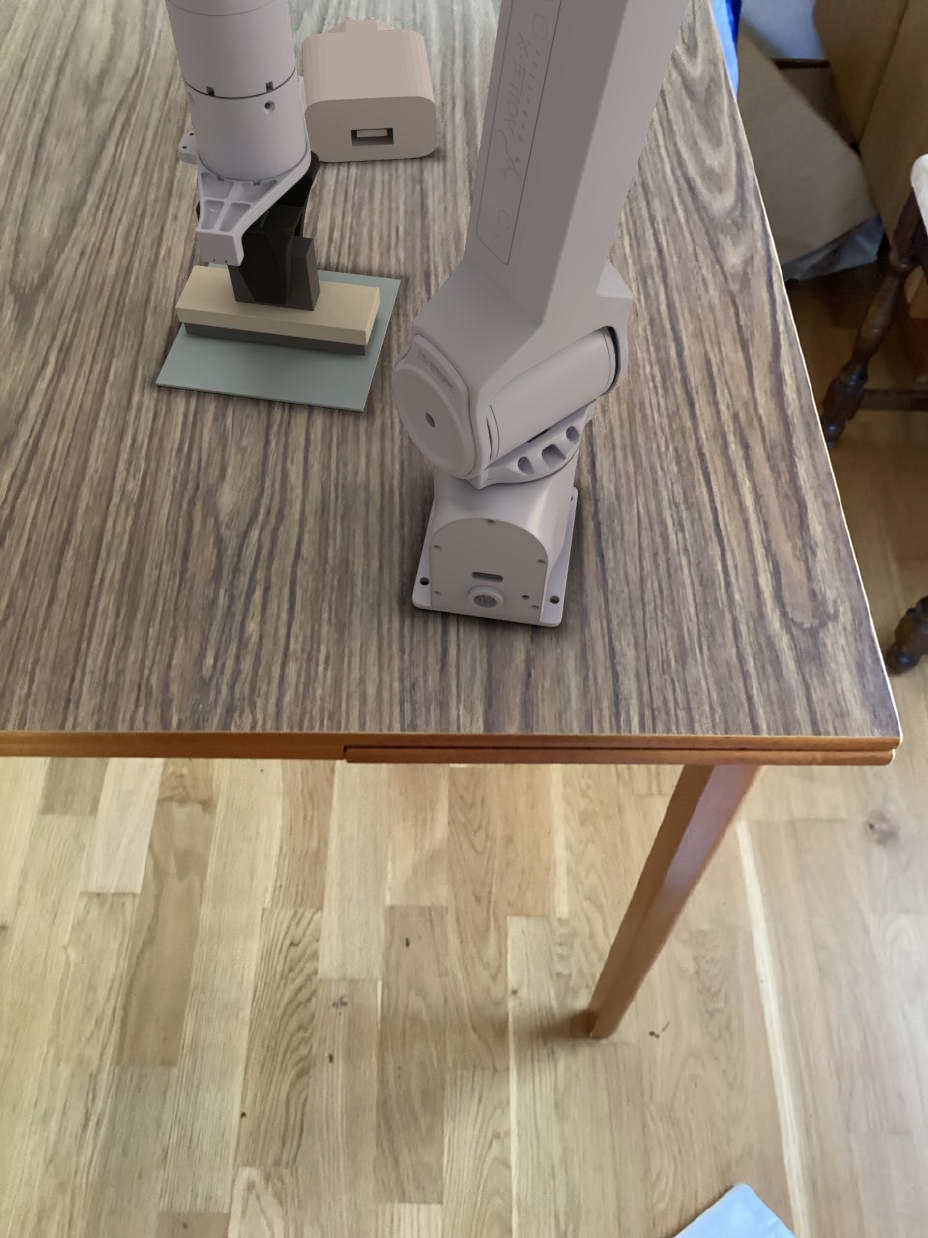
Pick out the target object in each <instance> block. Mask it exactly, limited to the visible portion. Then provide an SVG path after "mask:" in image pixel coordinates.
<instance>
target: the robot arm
mask: <svg viewBox="0 0 928 1238" xmlns="http://www.w3.org/2000/svg"><path fill="white" fill-rule="evenodd" d="M689 1H690V0H501V2H500V9H499V14H498V21H497V30H496V36H495V42H494V50H493V57H492V63H491V64H492V65H491V69H490V77H489V82H488V83H489V84H488V89H487V97H486V102H485V103H486V104H485V108H484V109H485V110H484V117H483V124H482V130H481V138H480V144H479V150H478V158H477V165H476V172H475V177H474V183H473V184H474V185H473V190H472V199H471V203H470V204H471V205H470V210H469V211H470V212H469V218H468V225H467V230H466V238H465V244H464V250H463V251H464V252H463V258H462V260H461V261H460V263H459V265H458V266H457V267H456V268H455V270H453V272H452V273H451V274H450V275H449V277H448V278H447V279H446V280H445V281H444V282H443V284H442V285H441V286H440V287H439V288H438V289H437V290H436V291H435V293H434V294H433V295H432V296H431V297H430V299H429V300H428V301H427V302H426V304H425V305H424V306H423V307H422V308H421V310H419V312H418V313H417V314H416V315H415V316H414V319H413V320H412V322H411V331H410V337H409V338H410V339H409V342H408V345H407V347H406V348H404V349H403V350H401V352H399V354H398V355H397V357H396V358H395V360H394V363H393V368H392V381H391V383H392V384H391V387H392V396H393V402H394V404H395V408H396V411H397V414H398V416H399V419H400V422H401V423H402V425H403V428H404V429H405V432H406V433H407V435H408V436H409V438H410V440H411V441H412V443H413V444H414V445H415V447H416V448H417V450H418V451H419V452H420V453H421V454H422V455H423V457H424V458H425V459H426V460H427V461H428V462H429V463H430V464H431V465H433V501H432V504H431V505H432V506H431V510H430V514H429V519H428V523H427V527H426V532H425V537H424V542H423V546H422V550H421V554H420V557H419V558H420V559H419V562H418V567H417V572H416V576H415V581H414V585H413V590H412V594H411V602H412V604H413V606H414V607H416V608H418V609H423V610H429V611H430V610H431V611H438V612H443V613H450V614H451V613H452V614H459V615H464V616H465V615H466V616H472V617H480V618H485V619H486V618H487V619H492V620H501V621H506V622H515V623H520V624H521V623H522V624H527V625H536V626H541V627H548V628H549V627H550V628H555V627H557V626H559V625H560V624H561V622H562V620H563V619H562V618H563V610H564V604H565V596H566V588H567V579H568V573H569V565H570V558H571V549H572V541H573V535H574V527H575V518H576V511H577V503H578V495H579V492H578V491H579V490H578V489H577V487H575V486H574V484H575V477H576V472H577V465H578V461H579V460H578V459H579V453H580V447H581V440H582V435H583V430H584V428H585V426H586V424H587V423H588V422H590V421H591V420H592V419H594V415H595V408H596V402H597V398H600V397H604V396H607V395H609V394H611V393H612V392H614V391H615V390H616V389H618V388H619V387H620V386H621V384H622V383H623V382H624V379H625V378H626V375H627V372H628V367H629V354H630V353H629V352H630V351H629V343H628V330H627V329H628V320H629V317H630V313H631V310H632V307H633V304H634V302H635V295H634V294H633V292H632V290H631V288H630V287H629V286H628V284H627V283H626V281H625V280H624V277H623V276H622V275H621V273H620V272H619V270H618V269H617V268H616V267H615V266H614V265H613V264H612V263H611V262H610V261H609V260H608V257H609V254H610V251H611V247H612V243H613V241H614V238H615V235H616V232H617V228H618V227H619V226H618V225H619V222H620V219H621V216H622V213H623V209H624V207H625V204H626V200H627V198H628V195H629V191H630V187H631V185H632V181H633V178H634V175H635V171H636V168H637V165H638V162H639V159H640V156H641V152H642V150H643V146H644V143H645V141H646V137H647V134H648V131H649V127H650V124H651V121H652V118H653V115H654V112H655V109H656V105H657V102H658V99H659V96H660V93H661V90H662V86H663V83H664V80H665V77H666V74H667V71H668V68H669V64H670V61H671V59H672V55H673V52H674V49H675V46H676V43H677V39H678V37H679V33H680V30H681V27H682V24H683V20H684V17H685V14H686V11H687V9H688V5H689ZM164 2H165V6H166V11H167V16H168V21H169V25H170V29H171V33H172V37H173V43H174V47H175V52H176V57H177V60H178V64H179V65H178V66H179V70H180V73H181V77H182V82H183V86H184V91H185V95H186V96H185V97H186V100H187V105H188V109H189V115H190V118H191V123H192V128H193V130H189V131H187V132H186V133H184V135H183V136H182V138H181V140H180V142H179V144H178V146H177V152H178V155H179V159H180V161H181V162H183V163H186V164H192V165H195V166H196V173H197V186H198V194H199V195H198V198H199V200H198V202H197V204H196V206H195V214H196V217H197V222H198V223H197V225H196V228H195V236H196V240H197V244H198V248H199V249H198V250H199V252H200V257H201V261H202V262H203V263H208V264H209V263H215V264H223V265H234V266H236V268H237V269H238V271H239V273H240V275H241V277H242V278H243V280H244V282H245V284H246V286H247V288H248V290H249V292H250V293H251V295H252V297H253V298H254V300H255V301H256V302H263V303H271V304H279V305H286V304H287V302H288V299H289V295H290V290H291V252H292V242H293V237H294V236H298V237H304V232H305V231H304V229H305V220H306V214H307V207H308V203H309V199H310V194H311V191H312V187H313V185H314V183H315V180H316V177H317V175H318V172H319V170H320V167H321V163H320V162H321V161H320V160H319V157H318V155H317V154H316V153H314V152H312V151H310V143H309V138H308V132H307V126H306V117H305V111H306V109H307V103H306V95H305V87H304V78H303V75H298V70H297V63H296V62H297V61H296V55H295V48H294V39H293V32H292V31H293V30H292V23H291V22H292V21H291V16H290V9H289V8H290V7H289V0H164ZM423 582H425V583H427V584H425V585H423V584H422V583H423ZM551 601H556V602H557V603H554V602H551Z"/></svg>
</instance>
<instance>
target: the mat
mask: <svg viewBox="0 0 928 1238" xmlns="http://www.w3.org/2000/svg"><path fill="white" fill-rule="evenodd" d="M207 267H214V268H222V269H228V266H227V265H223V264H215V263H209V262H208V264H207ZM317 270H318V278H319V280H320V281H329V282H337V283H345V284H353V285H361V286H370V287H378V288H379V292H380V305H379V308H378V311H377V314H378V316H377V319H376V322H375V326H374V329H373V332H372V335H371V339H370V342H369V345H368V348H367V352H366V355H365V356H361V355H354V354H346V353H338V352H330V351H322V350H314V349H306V348H298V347H291V346H283V345H275V344H267V343H259V342H251V341H243V340H236V339H228V338H220V337H212V336H204V335H196V334H188V333H186V330H185V326H184V322H181V324H180V327H179V329H178V332H177V333H176V336H175V338H174V340H173V344H172V346H171V348H170V350H169V352H168V354H167V357H166V359H165V361H164V363H163V365H162V368H161V370H160V371H159V375H158V376H157V378H156V381H155V386H159V387H167V388H172V389H173V388H175V389H180V390H181V389H182V390H189V391H197V392H204V393H205V392H206V393H212V394H220V395H228V396H236V397H243V398H250V399H251V398H252V399H258V400H267V401H274V402H282V403H289V404H290V403H291V404H298V405H304V406H305V405H306V406H312V407H321V408H328V409H329V408H330V409H336V410H344V411H353V412H358V413H363V412H364V409H365V406H366V403H367V399H368V395H369V393H370V390H371V389H370V388H371V386H372V381H373V379H374V376H375V372H376V369H377V365H378V361H379V357H380V355H381V352H382V347H383V344H384V341H385V337H386V334H387V330H388V327H389V323H390V320H391V316H392V314H393V310H394V306H395V303H396V300H397V296H398V293H399V290H400V285H401V279H399V278H389V277H382V276H375V275H374V276H372V275H364V274H356V273H348V272H339V271H333V270H325V269H324V270H323V269H317Z"/></svg>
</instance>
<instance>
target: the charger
mask: <svg viewBox="0 0 928 1238" xmlns="http://www.w3.org/2000/svg"><path fill="white" fill-rule="evenodd" d="M427 52H428V51H427V46H426V40H425V36H423V35H422V34H421V33H419V32H418V31H415V30H410V29H395V27H394V26H392V25H390V24H387V23H385V22H383V21H381V20H379V19H375V17H374V16H372V15H371V16H368V17H367V19H354V18H353V17H351V16H347V17H346V19H345V20H344V21H342V22H341V23H339V24H337V25H335V26H334V27H331V28H330V29H329V30H328V31H327V32H321V33H315V34H312V35H309V36H307V37H306V38H305V39H304V40H303V41H302V43H301V57H302V76H303V78H304V87H305V95H306V103H307V109H306V111H305V113H304V116H305V122H306V127H307V132H308V138H309V143H310V151H312V152H314V153H316V154H317V155H318V157H319V162H325V163H342V162H344V163H345V162H360V161H362V162H363V161H381V160H382V161H383V160H401V159H415V158H416V159H417V158H422V157H425V156H428V155H430V154H432V153H433V152H434V151H435V150H436V147H437V116H436V115H437V113H436V112H437V111H436V110H437V109H436V107H437V106H436V101H435V94H434V88H433V82H432V76H431V70H430V64H429V58H428V53H427Z"/></svg>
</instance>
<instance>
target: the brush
mask: <svg viewBox="0 0 928 1238" xmlns="http://www.w3.org/2000/svg"><path fill="white" fill-rule="evenodd" d="M314 240H315V239H314V238H312V237H306V236H305V237H304V236H303V237H298V236H294V237H293V242H292V252H291V290H290V295H289V299H288V302H287V304H286V305H279V304H271V303H263V302H256V301H255V300H254V298H253V297H252V295H251V293H250V292H249V290H248V288H247V286H246V284H245V282H244V280H243V278H242V277H241V275H240V273H239V271H238V269H237V268H236V266H234V265H227V266H228V269H222V268H214V267H208V266H204V265H197V264H194V265H193V268H192V270H191V272H190V274H189V276H188V278H187V280H186V282H185V285H184V287H183V289H182V291H181V294H180V295H179V298H178V300H177V301H176V304H175V307H174V308H175V312H176V315H177V319H178V321H179V322H180V323H183V322H184V326H185V330H186V333H188V334H196V335H204V336H212V337H220V338H228V339H236V340H243V341H251V342H259V343H267V344H275V345H283V346H291V347H298V348H306V349H314V350H322V351H330V352H338V353H346V354H354V355H361V356H365V355H366V352H367V348H368V345H369V342H370V339H371V335H372V332H373V329H374V326H375V322H376V319H377V316H378V314H377V311H378V308H379V305H380V292H379V288H378V287H370V286H361V285H353V284H345V283H337V282H329V281H320V280H319V278H318V270H319V269H318V265H317V256H316V249H315V241H314Z"/></svg>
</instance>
